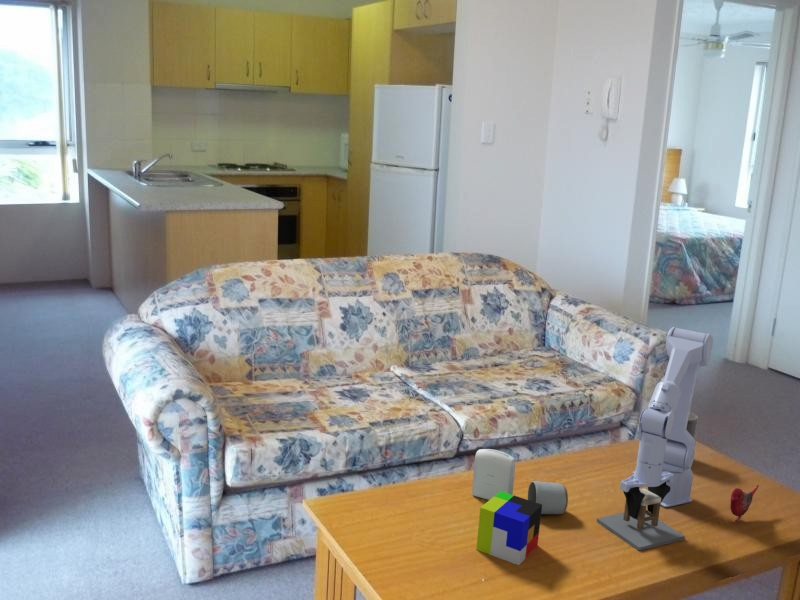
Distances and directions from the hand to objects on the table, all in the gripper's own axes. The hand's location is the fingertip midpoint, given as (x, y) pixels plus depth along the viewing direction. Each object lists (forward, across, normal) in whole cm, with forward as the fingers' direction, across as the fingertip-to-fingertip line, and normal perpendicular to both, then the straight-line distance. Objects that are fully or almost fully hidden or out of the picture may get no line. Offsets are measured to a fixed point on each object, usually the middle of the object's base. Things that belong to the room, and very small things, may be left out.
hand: (642, 514), depth 192 cm
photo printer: (+4, +24, -26) cm, 36 cm away
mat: (+4, 0, 0) cm, 4 cm away
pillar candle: (+4, -39, -28) cm, 48 cm away
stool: (+2, 0, 0) cm, 2 cm away
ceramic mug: (+4, +15, -17) cm, 23 cm away
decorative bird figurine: (+4, -28, +5) cm, 29 cm away
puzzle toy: (+4, +34, -5) cm, 35 cm away
